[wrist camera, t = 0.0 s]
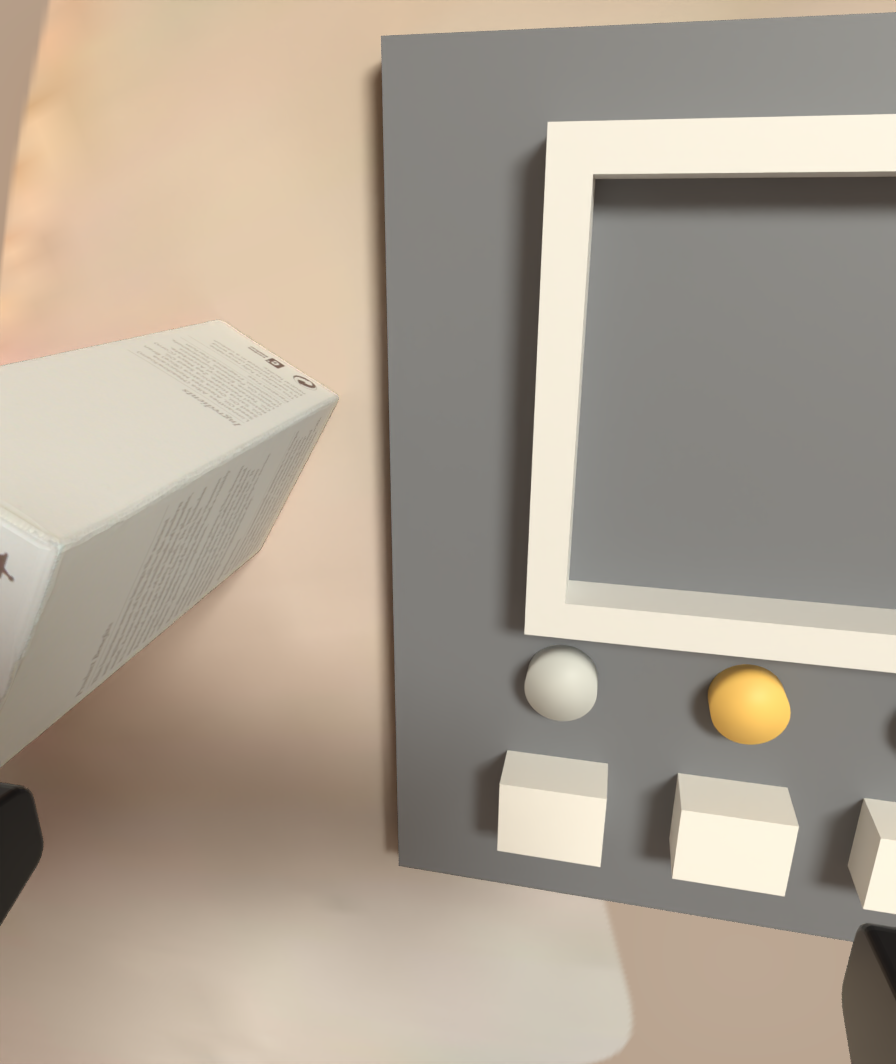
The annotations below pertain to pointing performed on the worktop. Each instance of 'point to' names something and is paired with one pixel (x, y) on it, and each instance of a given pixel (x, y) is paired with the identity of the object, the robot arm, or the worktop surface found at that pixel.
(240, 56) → the worktop surface
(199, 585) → the skincare box
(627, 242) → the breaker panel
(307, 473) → the worktop surface
